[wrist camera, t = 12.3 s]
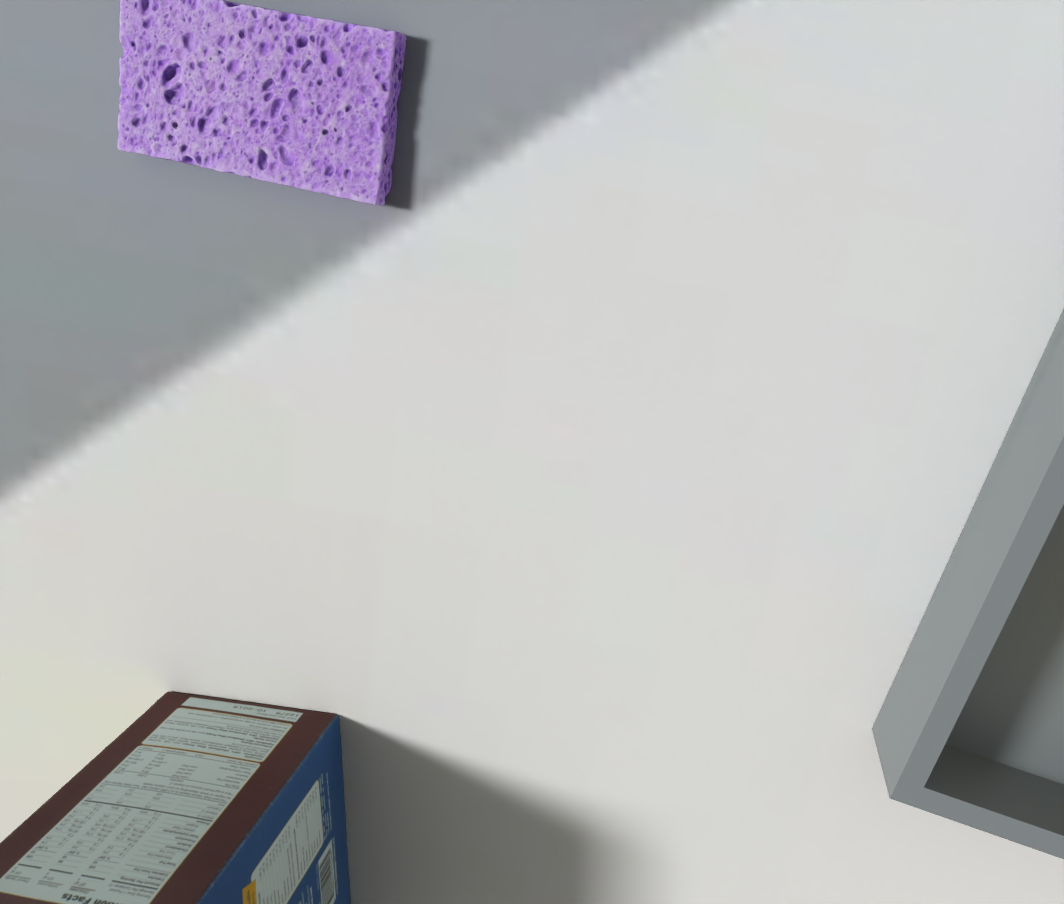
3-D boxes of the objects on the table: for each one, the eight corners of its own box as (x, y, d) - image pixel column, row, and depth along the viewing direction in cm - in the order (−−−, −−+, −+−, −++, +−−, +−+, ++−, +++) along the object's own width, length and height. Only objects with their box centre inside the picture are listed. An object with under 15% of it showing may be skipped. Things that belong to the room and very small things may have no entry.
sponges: (147, -13, 39) (119, -23, 37) (415, 36, 37) (399, 29, 36) (139, 152, 41) (113, 150, 40) (393, 206, 40) (377, 207, 38)
